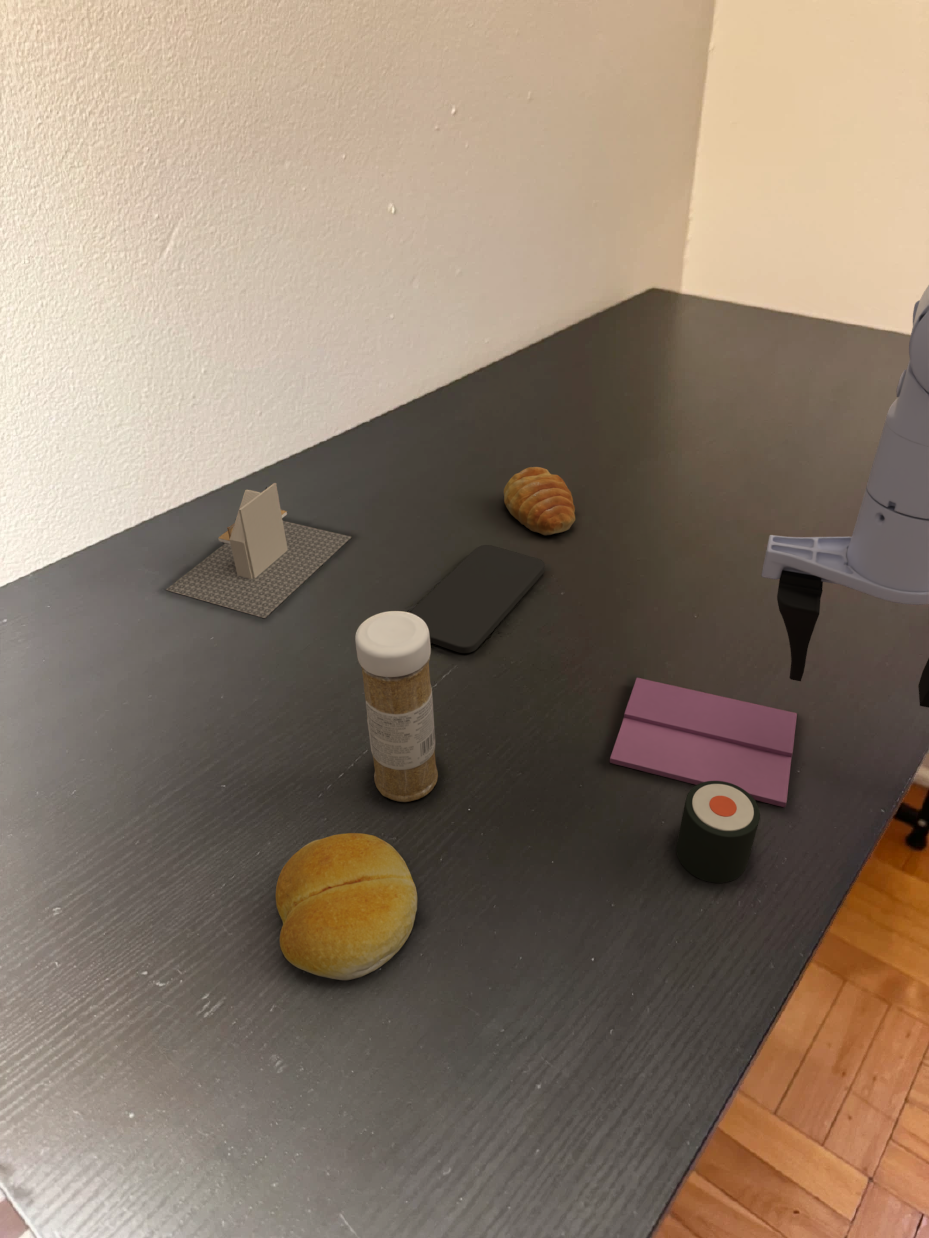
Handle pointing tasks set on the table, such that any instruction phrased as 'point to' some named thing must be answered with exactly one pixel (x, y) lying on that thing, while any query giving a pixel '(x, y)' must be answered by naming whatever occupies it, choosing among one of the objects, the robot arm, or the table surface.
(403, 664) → the spice jar
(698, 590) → the table surface
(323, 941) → the bread roll
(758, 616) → the table surface
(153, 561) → the table surface
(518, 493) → the pastry
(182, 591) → the architectural model
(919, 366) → the robot arm
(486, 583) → the phone
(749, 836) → the sushi roll
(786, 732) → the napkin
